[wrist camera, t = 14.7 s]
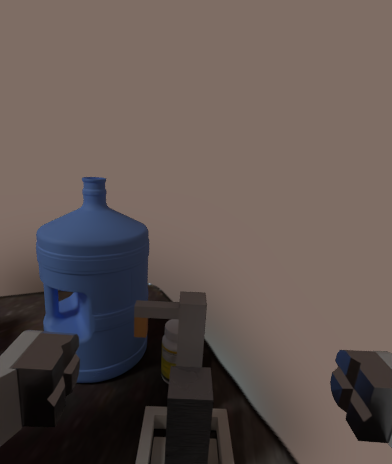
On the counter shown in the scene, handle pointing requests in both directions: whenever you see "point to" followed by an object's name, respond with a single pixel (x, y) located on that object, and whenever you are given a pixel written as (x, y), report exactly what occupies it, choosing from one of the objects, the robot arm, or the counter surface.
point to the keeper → (188, 355)
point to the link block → (188, 415)
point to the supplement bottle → (169, 348)
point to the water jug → (95, 282)
